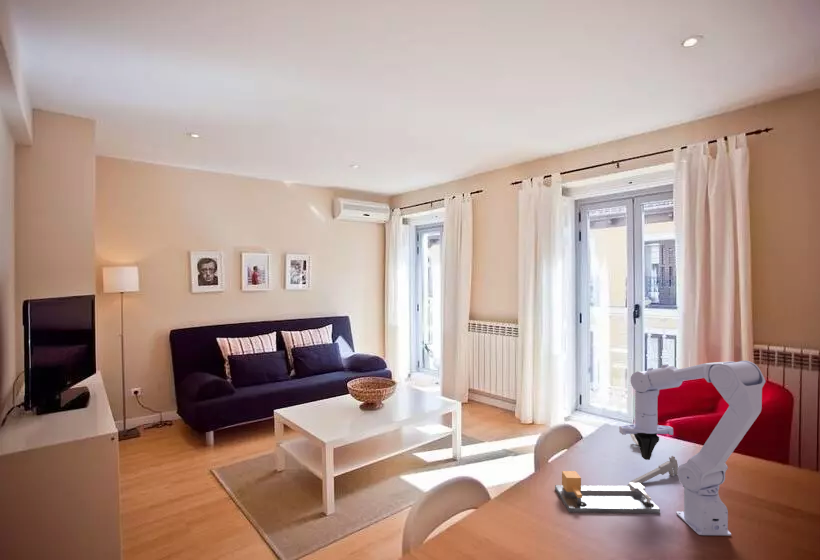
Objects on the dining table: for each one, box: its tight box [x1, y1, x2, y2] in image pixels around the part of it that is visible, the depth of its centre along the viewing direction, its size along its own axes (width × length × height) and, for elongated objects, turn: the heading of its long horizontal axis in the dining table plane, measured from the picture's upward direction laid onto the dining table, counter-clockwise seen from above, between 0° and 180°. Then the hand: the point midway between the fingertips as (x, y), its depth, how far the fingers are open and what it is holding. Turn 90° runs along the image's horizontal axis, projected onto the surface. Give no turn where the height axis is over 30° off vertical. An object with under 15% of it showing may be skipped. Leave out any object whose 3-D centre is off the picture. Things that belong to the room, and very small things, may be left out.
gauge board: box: [554, 482, 661, 514], centre depth 118 cm, size 12×24×3 cm, turn 88°
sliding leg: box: [561, 470, 582, 504], centre depth 118 cm, size 8×4×5 cm, turn 178°
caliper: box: [626, 455, 679, 486], centre depth 129 cm, size 20×1×6 cm, turn 111°
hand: (645, 458), depth 123 cm, fingers closed
